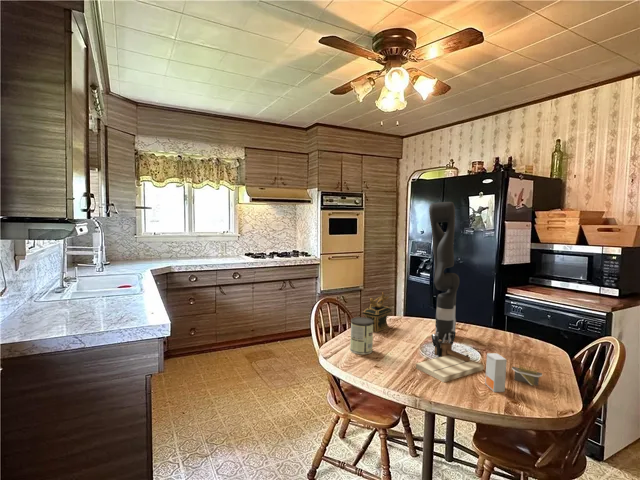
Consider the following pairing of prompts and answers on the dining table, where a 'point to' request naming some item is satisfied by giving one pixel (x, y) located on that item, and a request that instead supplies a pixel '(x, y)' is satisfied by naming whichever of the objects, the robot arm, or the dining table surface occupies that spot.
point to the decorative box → (378, 313)
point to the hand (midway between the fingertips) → (442, 354)
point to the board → (448, 367)
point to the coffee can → (361, 335)
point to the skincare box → (495, 372)
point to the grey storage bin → (526, 375)
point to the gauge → (451, 352)
